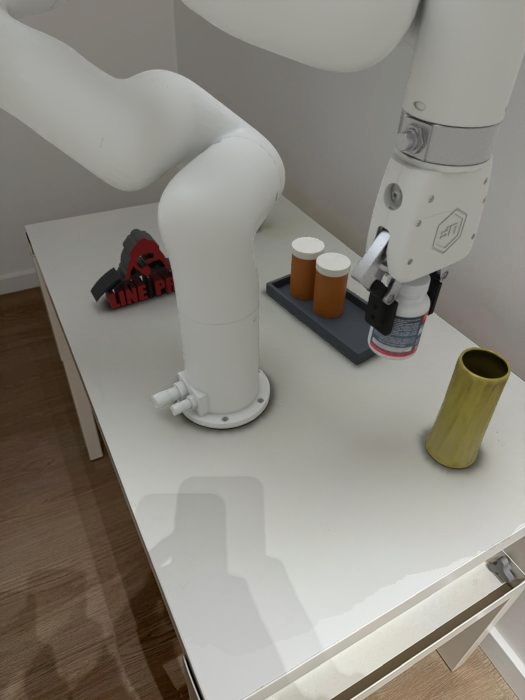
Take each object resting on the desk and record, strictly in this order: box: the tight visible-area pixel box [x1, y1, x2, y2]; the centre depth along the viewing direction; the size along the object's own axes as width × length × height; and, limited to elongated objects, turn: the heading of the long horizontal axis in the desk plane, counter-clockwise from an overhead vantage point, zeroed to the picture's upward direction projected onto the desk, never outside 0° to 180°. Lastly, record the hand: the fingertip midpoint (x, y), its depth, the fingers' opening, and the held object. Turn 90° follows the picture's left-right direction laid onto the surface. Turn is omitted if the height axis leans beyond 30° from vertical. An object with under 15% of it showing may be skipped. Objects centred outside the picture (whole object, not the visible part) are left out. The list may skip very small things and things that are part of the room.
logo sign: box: [90, 228, 175, 310], centre depth 84 cm, size 18×4×11 cm, turn 120°
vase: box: [425, 346, 512, 469], centre depth 58 cm, size 6×6×14 cm
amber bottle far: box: [290, 236, 325, 300], centre depth 84 cm, size 5×5×9 cm
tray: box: [265, 273, 377, 365], centre depth 83 cm, size 10×22×2 cm, turn 36°
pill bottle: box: [368, 274, 430, 361], centre depth 52 cm, size 5×5×9 cm
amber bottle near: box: [313, 252, 352, 318], centre depth 81 cm, size 5×5×9 cm
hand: (398, 316), depth 53 cm, fingers closed on pill bottle, 5 cm apart
